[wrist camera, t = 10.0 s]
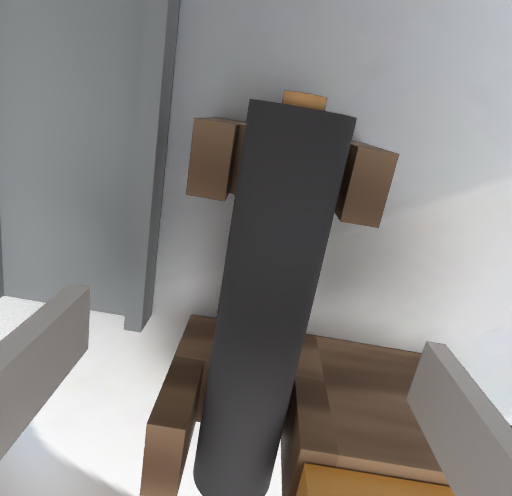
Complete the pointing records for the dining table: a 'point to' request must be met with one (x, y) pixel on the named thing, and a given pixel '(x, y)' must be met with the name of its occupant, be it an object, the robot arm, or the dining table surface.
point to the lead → (268, 286)
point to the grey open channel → (84, 148)
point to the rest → (229, 156)
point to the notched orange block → (361, 484)
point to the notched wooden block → (302, 413)
